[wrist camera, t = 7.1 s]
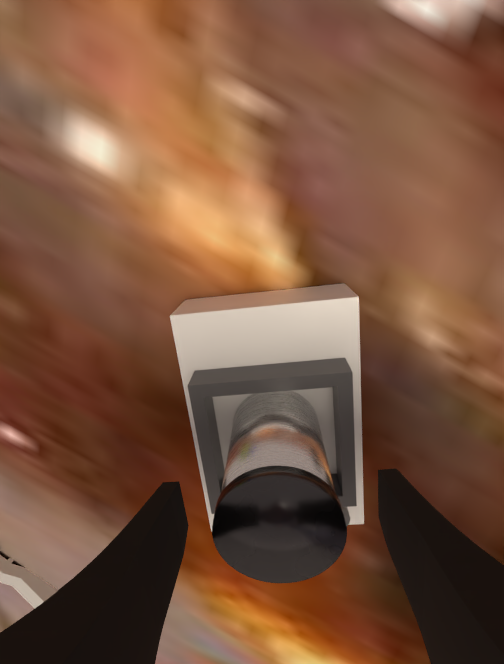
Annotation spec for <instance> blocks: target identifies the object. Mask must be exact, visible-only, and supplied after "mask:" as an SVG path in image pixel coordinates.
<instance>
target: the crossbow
mask: <svg viewBox="0 0 504 664" xmlns="http://www.w3.org/2000/svg"><path fill="white" fill-rule="evenodd" d="M13 561H14V560H13V559H12V558H9V559H8V560H6V559H5V558H4V557H2V556H1V555H0V583H3V584H6V585H10V586H12V587H13V588H14V589H15V590H16V591H17V592H18V593H19V594H20V595H21V596H22V597H23V598H24V599H26V600H27V601H28V602H29V603H30V604H31V605H32V606H33V607H34V608H36V607H38V606H39V605H40V604H42V603H43V602H44V601H46V600H47V599H48V598H49V597H51V596H52V595H53V594H54V593H56V592H57V591H58V590H57V589H56V588H55V587H53V586H52V585H50V584H49V583H47V582H46V581H44V580H43V579H41V578H40V577H38V576H37V575H35V574H34V573H32V572H31V571H30V570H28V569H27V568H24V567H21V566H18V565H15V564H11V563H12V562H13Z"/></svg>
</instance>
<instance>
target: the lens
mask: <svg viewBox="0 0 504 664" xmlns="http://www.w3.org/2000/svg"><path fill="white" fill-rule="evenodd" d="M212 535H213V540H214V543H215V546H216V548H217V550H218V552H219V554H220V555H221V556H222V558H223V559H224V560H225V561H226V562H227V563H228V564H229V565H230V566H231V567H233V568H234V569H235V570H237V571H238V572H240V573H242V574H244V575H246V576H248V577H251V578H253V579H256V580H260V581H264V582H271V583H291V582H298V581H302V580H306V579H309V578H312V577H314V576H316V575H318V574H320V573H322V572H323V571H325V570H326V569H328V568H329V567H330V566H331V565H332V564H333V563H334V562H335V561H336V560H337V559H338V557H339V556H340V554H341V553H342V551H343V549H344V546H345V543H346V537H347V527H346V522H345V518H344V514H343V510H342V506H341V503H340V500H339V498H338V497H337V495H336V493H335V490H334V485H333V481H332V477H331V473H330V469H329V464H328V460H327V456H326V452H325V447H324V443H323V439H322V435H321V430H320V426H319V422H318V418H317V414H316V412H315V410H314V408H313V406H312V405H311V404H310V402H309V401H308V400H307V399H305V398H304V397H303V396H301V395H300V394H298V393H296V392H294V391H279V392H266V393H254V394H251V395H250V396H248V397H247V398H246V399H245V400H244V401H243V402H242V403H241V404H240V405H239V407H238V409H237V411H236V413H235V416H234V421H233V427H232V433H231V438H230V444H229V450H228V456H227V462H226V468H225V473H224V479H223V485H222V491H221V494H220V496H219V498H218V501H217V504H216V508H215V513H214V519H213V525H212Z"/></svg>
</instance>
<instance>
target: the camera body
mask: <svg viewBox="0 0 504 664" xmlns="http://www.w3.org/2000/svg"><path fill="white" fill-rule="evenodd" d="M170 319H171V325H172V330H173V335H174V340H175V345H176V351H177V356H178V361H179V366H180V371H181V377H182V382H183V387H184V392H185V397H186V403H187V408H188V413H189V418H190V423H191V429H192V434H193V439H194V444H195V449H196V455H197V460H198V465H199V470H200V475H201V480H202V486H203V491H204V496H205V501H206V506H207V512H208V517H209V522H210V527H211V531H212V525H213V519H214V513H215V508H216V504H217V501H218V498H219V496H220V494H221V491H222V485H223V479H224V473H225V468H226V462H227V456H228V450H229V444H230V438H231V433H232V427H233V421H234V416H235V413H236V411H237V409H238V407H239V405H240V404H241V403H242V402H243V401H244V400H245V399H246V398H247V397H248V396H250V395H251V394H254V393H266V392H279V391H294V392H296V393H298V394H300V395H301V396H303V397H304V398H305V399H307V400H308V401H309V402H310V404H311V405H312V406H313V408H314V410H315V412H316V414H317V418H318V422H319V426H320V430H321V435H322V439H323V443H324V447H325V452H326V456H327V460H328V464H329V469H330V473H331V477H332V481H333V485H334V490H335V493H336V495H337V497H338V498H339V500H340V503H341V506H342V510H343V514H344V518H345V522H346V527H347V526H348V525H352V524H364V501H363V458H362V414H361V371H360V328H359V297H358V296H357V295H356V294H355V293H354V292H353V291H352V290H351V289H350V288H349V287H348V286H347V285H346V284H345V283H342V284H333V285H323V286H313V287H303V288H294V289H284V290H274V291H265V292H255V293H245V294H236V295H226V296H216V297H207V298H197V299H187V300H185V301H184V302H183V303H182V304H181V305H180V306H179V307H178V308H177V309H176V310H175V311H174V312H173V313H172V314H171V315H170Z"/></svg>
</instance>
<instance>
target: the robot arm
mask: <svg viewBox="0 0 504 664" xmlns="http://www.w3.org/2000/svg"><path fill="white" fill-rule="evenodd" d="M378 503H379V519H380V523H381V526H382V530H383V534H384V537H385V541H386V544H387V547H388V550H389V552H390V555H391V557H392V560H393V562H394V565H395V567H396V570H397V572H398V575H399V577H400V580H401V582H402V585H403V587H404V590H405V592H406V595H407V597H408V599H409V602H410V604H411V607H412V609H413V612H414V614H415V617H416V620H417V622H418V625H419V628H420V631H421V633H422V636H423V640H424V643H425V646H426V649H427V652H428V656H429V659H430V662H431V664H504V565H502V564H501V563H500V562H498V561H497V560H495V559H494V558H493V557H492V556H490V555H489V554H488V553H486V552H485V551H484V550H482V549H481V548H480V547H478V546H477V545H476V544H475V543H474V542H472V541H471V540H470V539H469V538H467V537H466V536H465V535H464V534H463V533H462V532H460V531H459V530H458V529H457V528H456V527H455V526H454V525H452V524H451V523H450V522H449V521H448V520H447V519H446V518H445V517H444V516H443V515H442V514H441V513H439V512H438V511H437V510H436V509H435V508H434V507H433V506H432V505H431V504H430V503H429V502H428V501H427V500H426V499H425V498H424V497H423V496H422V495H421V494H420V493H419V492H418V491H417V490H416V489H415V488H414V487H413V486H412V485H411V484H410V483H409V482H408V480H407V479H406V478H405V477H404V476H403V475H402V474H401V473H400V472H399V471H398V470H397V469H384V470H378ZM187 531H188V521H187V516H186V512H185V507H184V502H183V498H182V493H181V488H180V484H179V482H165V483H162V484H161V486H160V487H159V488H158V489H157V490H156V491H155V493H154V494H153V495H152V496H151V497H150V499H149V500H148V501H147V502H146V503H145V505H144V506H143V507H142V508H141V509H140V511H139V512H138V513H137V514H136V515H135V516H134V517H133V519H132V520H131V521H130V522H129V523H128V524H127V526H126V527H125V528H124V529H123V530H122V531H121V532H120V533H119V534H118V535H117V536H116V538H115V539H114V540H113V541H112V542H111V543H110V544H109V545H108V546H107V547H106V548H105V549H104V550H103V551H102V552H101V553H100V554H99V555H98V556H97V557H96V558H95V559H94V560H93V561H92V562H91V563H90V564H89V565H87V566H86V567H85V568H84V569H83V570H82V571H81V572H80V573H79V574H77V575H76V576H75V577H74V578H73V579H72V580H70V581H69V582H68V583H67V584H65V585H64V586H63V587H62V588H61V589H59V590H58V591H57V592H56V593H54V594H53V595H52V596H51V597H49V598H48V599H47V600H46V601H44V602H43V603H42V604H40V605H39V606H38V607H36V608H35V609H34V610H32V611H31V612H30V613H28V614H27V615H25V616H24V617H23V618H21V619H20V620H18V621H17V622H15V623H14V624H13V625H11V626H10V627H8V628H7V629H5V630H4V631H2V632H1V633H0V664H155V660H156V655H157V650H158V645H159V640H160V636H161V632H162V628H163V624H164V621H165V617H166V614H167V610H168V607H169V604H170V600H171V597H172V593H173V590H174V586H175V583H176V579H177V576H178V572H179V569H180V565H181V562H182V558H183V554H184V549H185V543H186V537H187Z"/></svg>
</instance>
